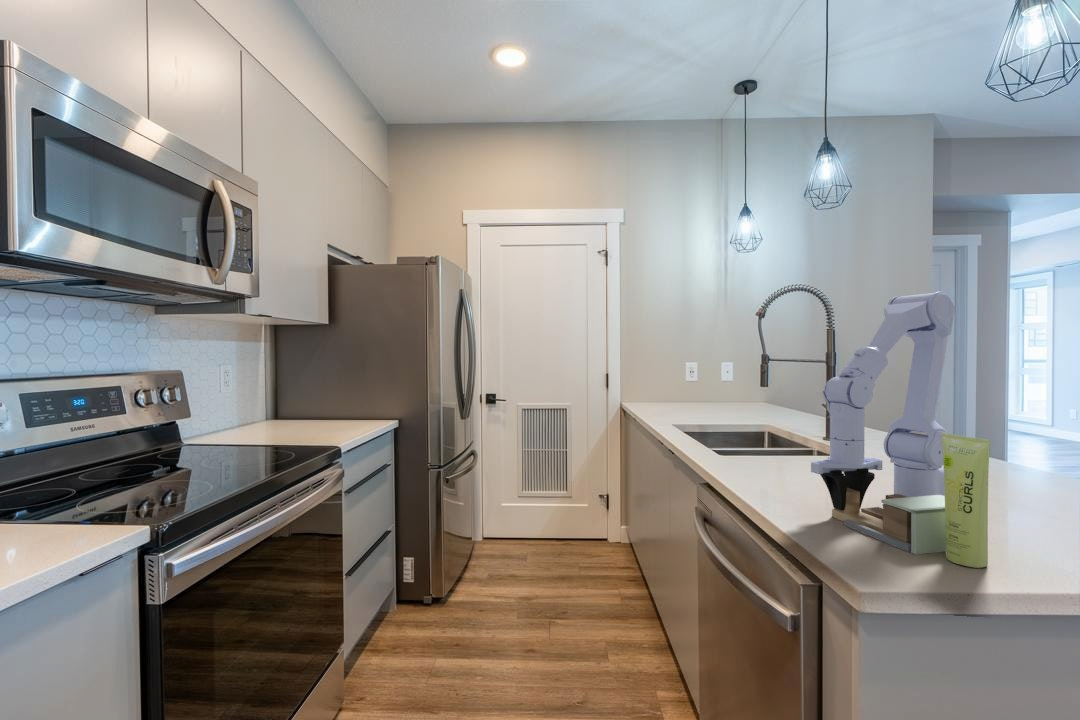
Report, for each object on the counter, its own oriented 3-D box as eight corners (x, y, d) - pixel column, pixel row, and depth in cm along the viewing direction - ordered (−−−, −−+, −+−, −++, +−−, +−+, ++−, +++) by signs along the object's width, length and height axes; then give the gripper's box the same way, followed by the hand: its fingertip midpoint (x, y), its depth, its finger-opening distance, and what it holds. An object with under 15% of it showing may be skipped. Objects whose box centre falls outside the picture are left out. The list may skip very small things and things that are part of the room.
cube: (904, 527, 89) (904, 502, 89) (929, 536, 84) (929, 509, 84) (883, 529, 88) (883, 503, 88) (906, 539, 83) (906, 511, 83)
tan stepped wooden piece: (849, 515, 100) (849, 487, 100) (926, 545, 84) (926, 512, 84) (831, 516, 99) (832, 488, 99) (906, 547, 84) (906, 514, 84)
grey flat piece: (899, 519, 97) (900, 511, 97) (970, 545, 85) (970, 535, 84) (844, 525, 95) (844, 516, 95) (907, 551, 82) (908, 542, 82)
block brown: (878, 514, 100) (878, 486, 100) (918, 529, 92) (918, 499, 92) (861, 516, 100) (861, 488, 99) (900, 530, 91) (900, 500, 91)
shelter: (939, 533, 90) (939, 494, 90) (977, 547, 83) (977, 505, 83) (881, 539, 87) (881, 499, 87) (915, 554, 81) (916, 510, 81)
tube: (940, 562, 78) (940, 435, 78) (941, 552, 82) (941, 431, 81) (989, 572, 74) (990, 439, 74) (988, 561, 78) (988, 435, 78)
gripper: (861, 433, 103) (861, 499, 104) (799, 436, 100) (799, 504, 101) (892, 439, 97) (891, 510, 97) (826, 443, 94) (826, 516, 94)
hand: (846, 508), depth 98 cm, fingers closed on tan stepped wooden piece, 3 cm apart
